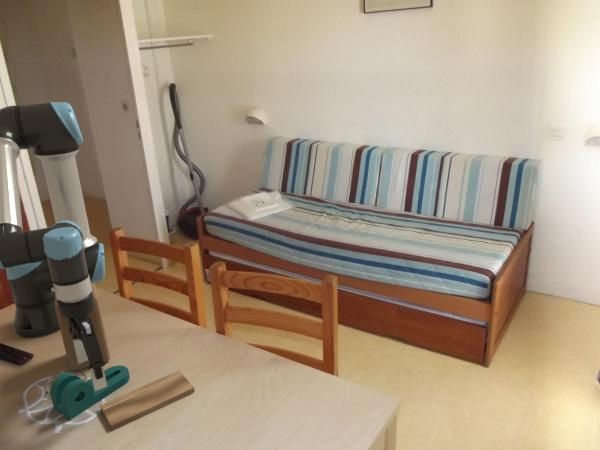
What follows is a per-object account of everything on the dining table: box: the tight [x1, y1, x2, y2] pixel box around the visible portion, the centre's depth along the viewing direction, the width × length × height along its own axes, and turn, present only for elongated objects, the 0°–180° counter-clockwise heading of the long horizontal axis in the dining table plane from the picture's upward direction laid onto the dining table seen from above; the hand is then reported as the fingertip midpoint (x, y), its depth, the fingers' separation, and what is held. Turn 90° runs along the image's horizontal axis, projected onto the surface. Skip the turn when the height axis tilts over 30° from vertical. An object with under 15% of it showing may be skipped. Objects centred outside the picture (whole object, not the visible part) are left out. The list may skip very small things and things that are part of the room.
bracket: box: [49, 364, 131, 421], centre depth 125 cm, size 18×7×8 cm, turn 144°
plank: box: [99, 370, 195, 431], centre depth 123 cm, size 8×20×1 cm, turn 127°
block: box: [55, 283, 111, 372], centre depth 136 cm, size 10×10×20 cm
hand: (92, 374), depth 123 cm, fingers open, 13 cm apart
